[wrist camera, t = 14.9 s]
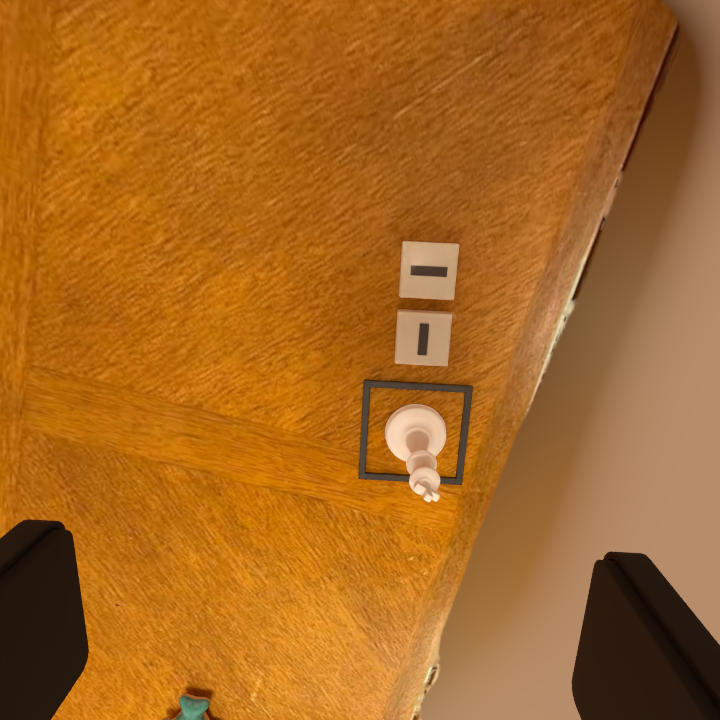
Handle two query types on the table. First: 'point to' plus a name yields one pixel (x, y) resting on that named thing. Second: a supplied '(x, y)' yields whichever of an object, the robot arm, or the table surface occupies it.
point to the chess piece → (418, 445)
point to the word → (422, 337)
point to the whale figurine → (192, 708)
